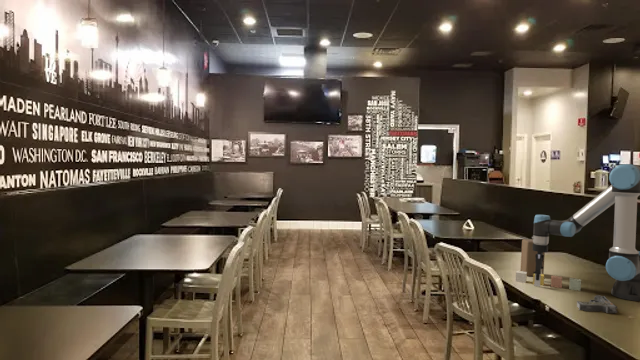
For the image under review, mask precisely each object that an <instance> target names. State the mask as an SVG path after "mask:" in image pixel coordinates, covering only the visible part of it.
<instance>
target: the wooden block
mask: <svg viewBox="0 0 640 360" xmlns="http://www.w3.org/2000/svg"><path fill="white" fill-rule="evenodd" d="M532 246H533V239H532V238H522V240H521V255H520V256H521V257H520V270H519V271H523V272H527V277H533V274H534V272H535V268H536V262H535V260H536V258H535V255H536V254H537V251H533V250H532ZM545 253H546V252H543V255H544V259H543V263H542V265H543V266H542V267H544V269H545ZM544 269H542V274H544V273H545V272H544ZM544 275H545V274H544Z"/></svg>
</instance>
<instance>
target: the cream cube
mask: <svg viewBox="0 0 640 360" xmlns="http://www.w3.org/2000/svg"><path fill="white" fill-rule="evenodd" d="M527 277H528V276H527V272H523V271H520V270H516V271H515V282H516V283H524V284H526V283H527V280H528V279H527Z"/></svg>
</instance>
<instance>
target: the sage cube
mask: <svg viewBox="0 0 640 360" xmlns="http://www.w3.org/2000/svg"><path fill="white" fill-rule="evenodd" d="M568 283H569V284H568V288H569V289H568V290H571V291H577V290H578V291H579V292H581V289H582V287H581V285H582V279H581V278H572V277H569V282H568Z"/></svg>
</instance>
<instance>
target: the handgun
mask: <svg viewBox="0 0 640 360" xmlns="http://www.w3.org/2000/svg"><path fill="white" fill-rule="evenodd" d="M576 307H578V308H579V309H578V308H577V309H578V310H579V311H580V310H584V311H583V312H600V311H602V312H601V313H605V312H606V314H617V313H618V310H617V309H618V306H616V305H615V304H614V303H613V302H611V301H610V300H609V299H608V298H607V297H606V296H605V295H599V294H597V295H595V296H594V297H593V299H590V300H589V301H579V300H577V301H576Z"/></svg>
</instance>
